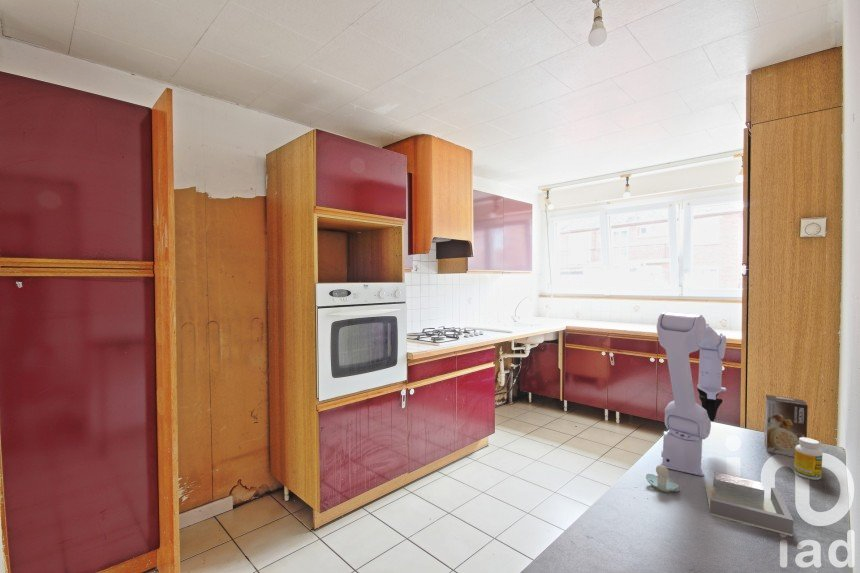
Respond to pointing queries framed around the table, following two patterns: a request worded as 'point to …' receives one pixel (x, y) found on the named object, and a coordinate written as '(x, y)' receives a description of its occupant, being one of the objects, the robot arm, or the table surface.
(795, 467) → the supplement bottle
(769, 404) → the coffee box
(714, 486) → the aluminium bar
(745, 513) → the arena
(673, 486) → the pacifier
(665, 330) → the robot arm
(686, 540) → the table surface
